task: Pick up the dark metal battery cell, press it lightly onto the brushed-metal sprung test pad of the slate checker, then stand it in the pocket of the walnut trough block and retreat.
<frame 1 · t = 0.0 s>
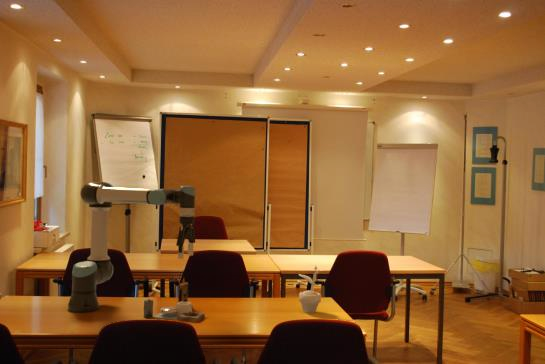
hand: (185, 257, 286), 28 cm above the table, fingers open, 13 cm apart
cell: (148, 316, 274), on the table
trough: (191, 318, 273), on the table
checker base: (169, 315, 277), on the table
potted plant: (308, 312, 295), on the table
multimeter: (189, 309, 292), on the table
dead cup: (183, 315, 279), on the table
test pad: (169, 310, 277), point 3 cm above the table, slide at 0.0 cm, touching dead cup
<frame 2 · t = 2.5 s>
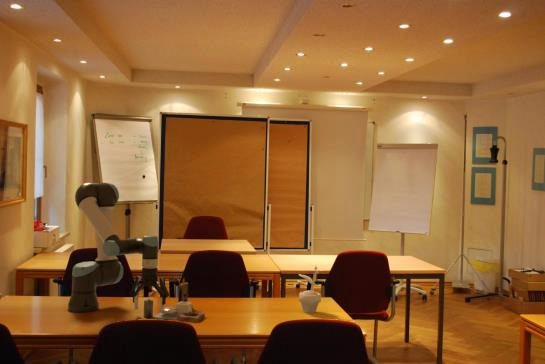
hand: (149, 310, 273), 3 cm above the table, fingers open, 13 cm apart
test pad: (169, 310, 277), point 3 cm above the table, slide at 0.0 cm, touching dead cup, gripper
everything else where it was.
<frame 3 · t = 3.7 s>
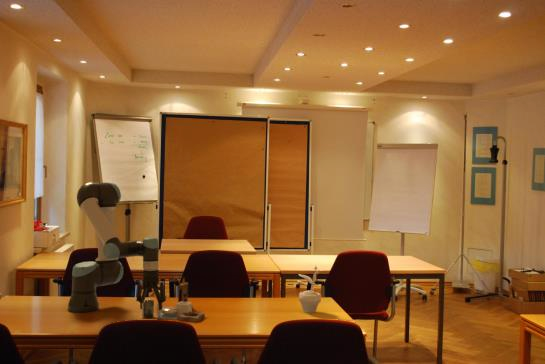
hand: (151, 316, 273), 1 cm above the table, fingers open, 7 cm apart
cell: (148, 316, 273), on the table, touching gripper
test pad: (169, 310, 277), point 3 cm above the table, slide at 0.0 cm, touching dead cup
everything else where it was.
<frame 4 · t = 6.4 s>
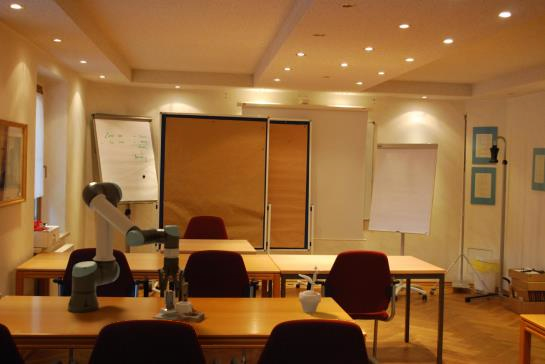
hand: (170, 303, 276), 6 cm above the table, fingers closed on cell, 4 cm apart
cell: (170, 308, 276), point 4 cm above the table, touching gripper
everything else where it was.
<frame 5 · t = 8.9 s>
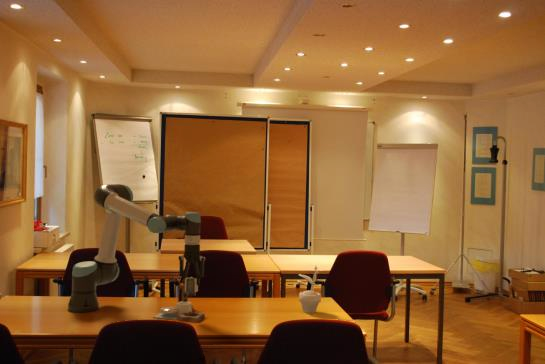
hand: (191, 291, 273), 14 cm above the table, fingers closed on cell, 4 cm apart
cell: (191, 295, 273), point 12 cm above the table, touching gripper
everything else where it was.
when the fingers open (4 cm above the table, at t = 11.0 s): cell drops 1 cm, resting on trough.
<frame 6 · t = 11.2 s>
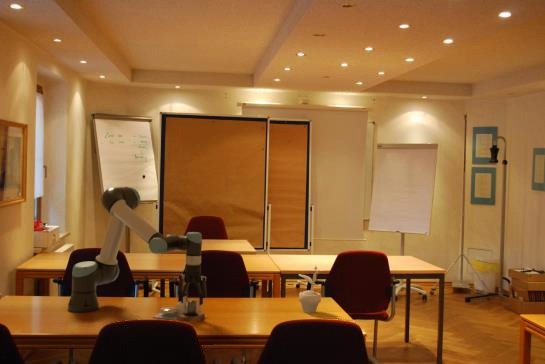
hand: (191, 310, 273), 4 cm above the table, fingers open, 7 cm apart
cell: (191, 317, 273), point 1 cm above the table, touching trough
everything else where it was.
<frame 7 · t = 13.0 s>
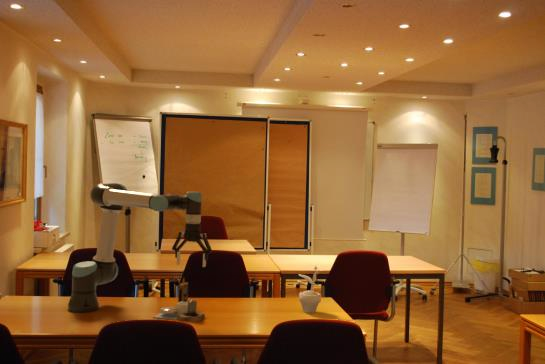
hand: (191, 265, 276), 26 cm above the table, fingers open, 13 cm apart
nothing on the table moved.
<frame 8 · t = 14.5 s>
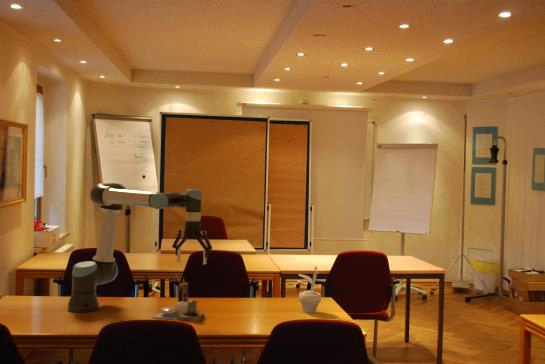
hand: (191, 263, 276), 27 cm above the table, fingers open, 13 cm apart
nothing on the table moved.
at the end: cell 0.1 cm off-centre on the trough, point 0.5 cm above the trough's base; cell tilted 0°; the gripper is holding nothing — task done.
